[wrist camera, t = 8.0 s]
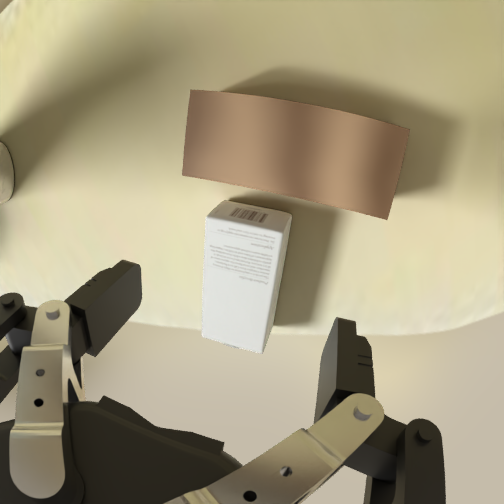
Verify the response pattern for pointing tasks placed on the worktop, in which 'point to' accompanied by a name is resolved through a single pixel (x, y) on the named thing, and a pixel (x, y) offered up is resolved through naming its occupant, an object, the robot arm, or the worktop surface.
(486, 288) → the worktop surface
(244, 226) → the skincare box
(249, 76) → the worktop surface
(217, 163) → the walnut ledge
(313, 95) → the worktop surface
